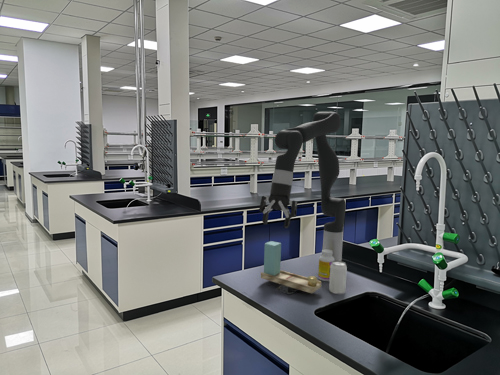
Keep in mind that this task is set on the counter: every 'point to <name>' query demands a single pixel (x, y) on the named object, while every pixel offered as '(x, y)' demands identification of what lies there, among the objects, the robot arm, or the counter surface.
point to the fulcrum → (286, 289)
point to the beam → (291, 281)
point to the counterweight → (312, 281)
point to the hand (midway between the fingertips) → (275, 225)
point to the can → (338, 277)
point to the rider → (272, 258)
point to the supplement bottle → (325, 265)
